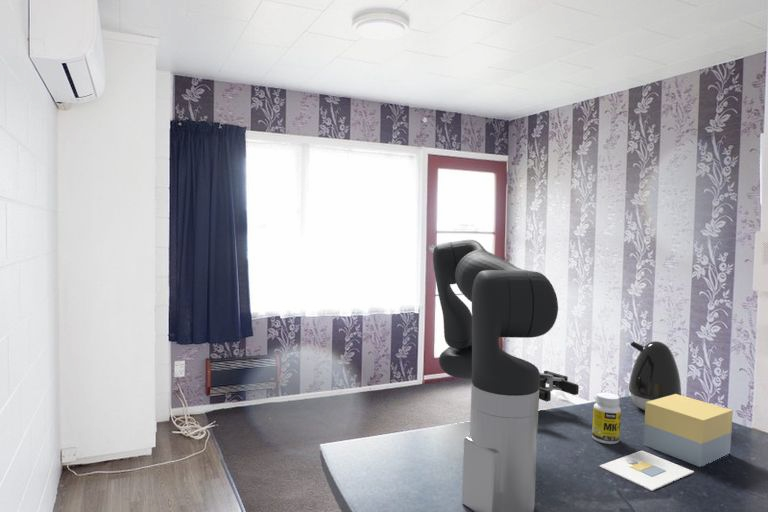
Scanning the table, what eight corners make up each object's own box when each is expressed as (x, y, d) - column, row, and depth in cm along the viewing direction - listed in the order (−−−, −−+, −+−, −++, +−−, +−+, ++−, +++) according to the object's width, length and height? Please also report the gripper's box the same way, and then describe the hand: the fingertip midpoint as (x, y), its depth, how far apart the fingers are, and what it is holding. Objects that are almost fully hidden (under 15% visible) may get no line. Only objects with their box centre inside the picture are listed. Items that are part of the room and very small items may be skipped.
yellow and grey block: (700, 467, 86) (703, 420, 86) (643, 444, 95) (645, 402, 94) (729, 454, 91) (732, 410, 91) (673, 434, 100) (675, 393, 99)
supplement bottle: (603, 445, 94) (605, 400, 93) (586, 435, 98) (588, 392, 98) (625, 443, 95) (627, 398, 95) (607, 433, 100) (609, 390, 99)
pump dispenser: (633, 398, 121) (636, 334, 120) (683, 409, 114) (687, 341, 114) (621, 409, 113) (625, 341, 112) (675, 422, 106) (679, 349, 106)
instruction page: (651, 491, 78) (651, 489, 78) (599, 466, 85) (599, 464, 85) (693, 472, 84) (694, 470, 84) (641, 451, 92) (641, 449, 92)
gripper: (483, 360, 114) (540, 379, 101) (528, 353, 122) (587, 370, 108) (482, 393, 115) (539, 417, 101) (526, 384, 122) (585, 405, 109)
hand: (563, 393), depth 105 cm, fingers open, 8 cm apart
